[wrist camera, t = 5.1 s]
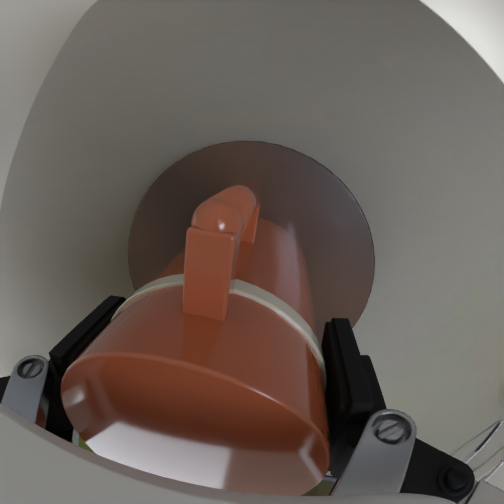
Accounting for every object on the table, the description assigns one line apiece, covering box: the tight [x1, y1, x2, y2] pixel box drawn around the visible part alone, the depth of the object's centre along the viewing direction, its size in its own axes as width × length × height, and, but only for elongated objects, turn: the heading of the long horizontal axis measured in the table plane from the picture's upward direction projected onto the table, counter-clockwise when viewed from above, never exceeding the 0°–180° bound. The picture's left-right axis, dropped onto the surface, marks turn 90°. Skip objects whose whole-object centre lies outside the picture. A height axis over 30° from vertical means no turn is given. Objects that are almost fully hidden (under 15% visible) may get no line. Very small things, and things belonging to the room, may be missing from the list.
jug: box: [61, 178, 331, 496], centre depth 10 cm, size 10×7×11 cm, turn 172°
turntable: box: [128, 141, 375, 346], centre depth 16 cm, size 14×14×2 cm
